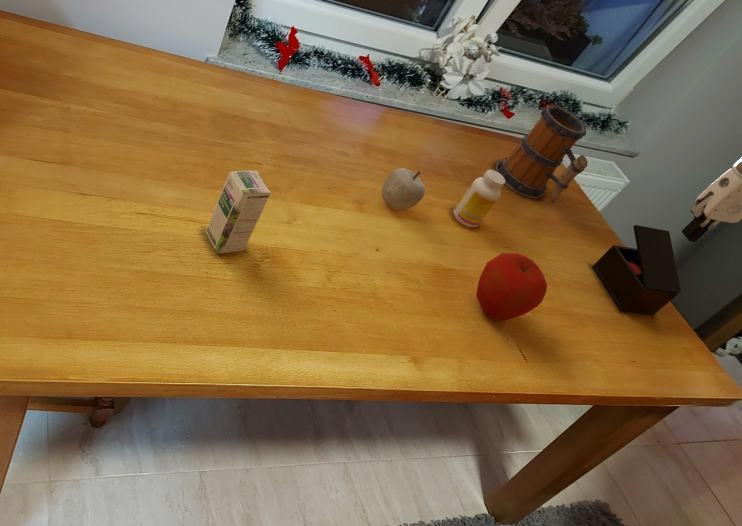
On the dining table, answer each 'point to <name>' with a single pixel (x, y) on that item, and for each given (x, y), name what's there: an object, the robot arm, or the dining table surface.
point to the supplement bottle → (479, 199)
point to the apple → (510, 286)
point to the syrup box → (237, 211)
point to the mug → (545, 155)
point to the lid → (656, 259)
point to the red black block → (635, 268)
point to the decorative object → (402, 189)
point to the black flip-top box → (628, 282)
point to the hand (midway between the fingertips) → (688, 236)
